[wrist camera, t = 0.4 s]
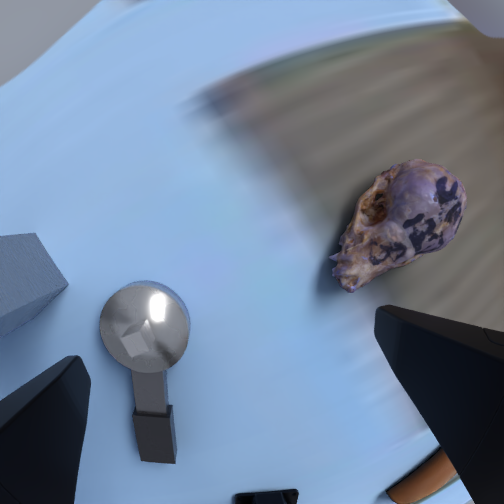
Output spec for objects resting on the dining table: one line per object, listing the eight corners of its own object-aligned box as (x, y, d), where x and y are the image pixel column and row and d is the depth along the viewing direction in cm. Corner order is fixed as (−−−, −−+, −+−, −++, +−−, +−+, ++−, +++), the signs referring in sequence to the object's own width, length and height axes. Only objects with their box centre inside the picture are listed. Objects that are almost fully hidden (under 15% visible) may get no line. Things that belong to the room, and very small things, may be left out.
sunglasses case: (404, 506, 29) (415, 526, 22) (379, 479, 31) (387, 498, 25) (498, 419, 29) (520, 426, 23) (476, 389, 32) (499, 393, 26)
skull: (345, 307, 24) (382, 332, 18) (295, 225, 23) (323, 227, 17) (443, 226, 25) (491, 229, 19) (406, 150, 24) (451, 136, 18)
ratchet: (195, 450, 24) (194, 483, 19) (126, 445, 23) (116, 476, 19) (190, 282, 22) (184, 296, 18) (105, 278, 22) (83, 291, 17)
